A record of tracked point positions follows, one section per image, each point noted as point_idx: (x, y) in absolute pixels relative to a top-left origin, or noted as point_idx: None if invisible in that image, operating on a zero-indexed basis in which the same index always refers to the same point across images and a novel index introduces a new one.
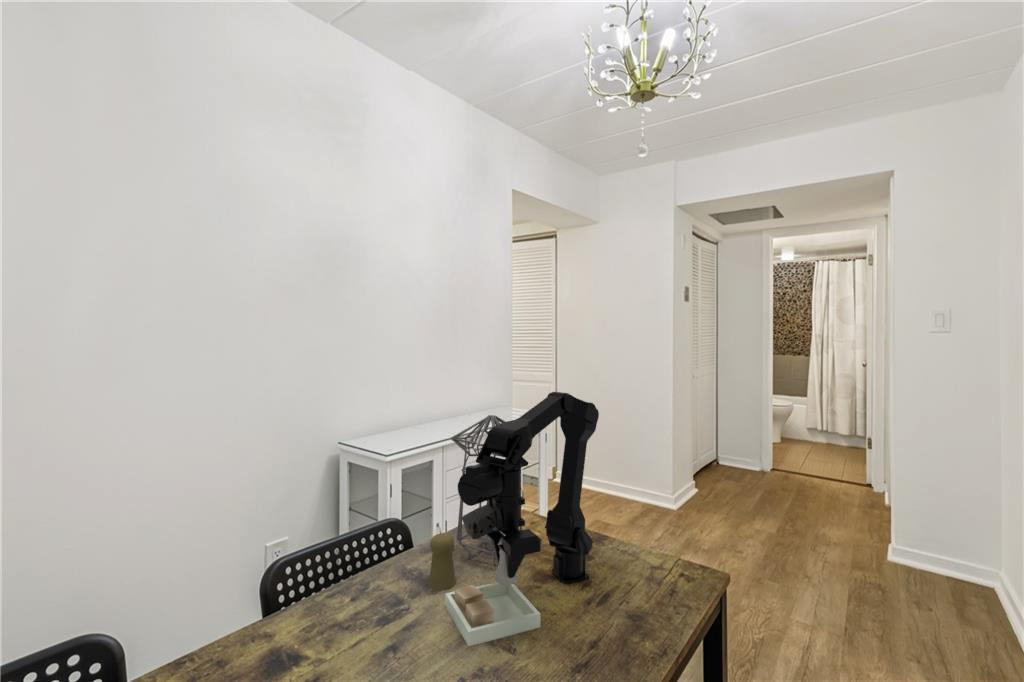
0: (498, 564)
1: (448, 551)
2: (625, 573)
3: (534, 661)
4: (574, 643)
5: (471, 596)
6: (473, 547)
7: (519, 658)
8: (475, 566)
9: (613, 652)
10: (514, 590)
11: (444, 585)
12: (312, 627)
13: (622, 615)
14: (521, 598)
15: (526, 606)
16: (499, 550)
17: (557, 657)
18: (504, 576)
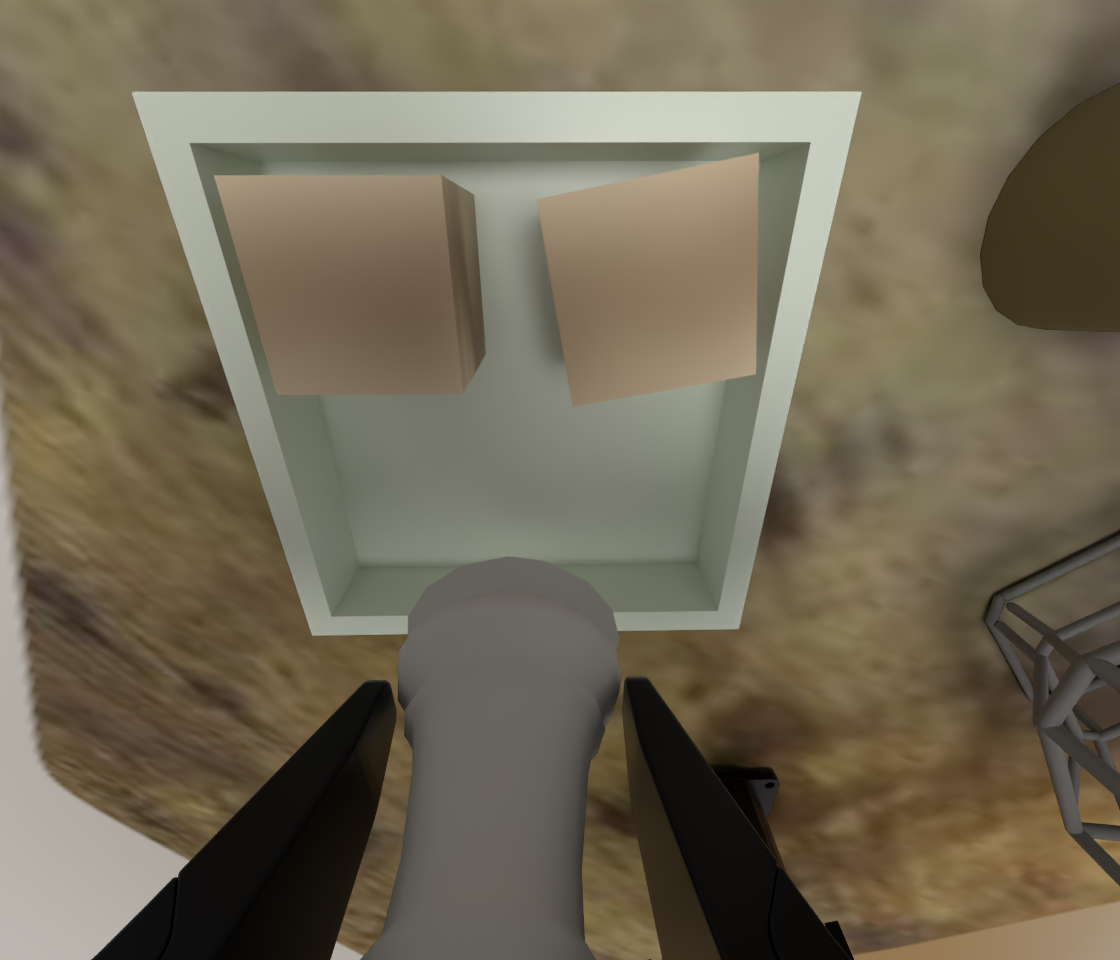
0: (640, 695)
1: None
2: (616, 910)
3: (101, 460)
4: (230, 647)
5: (560, 289)
6: None
7: (128, 403)
8: (1110, 516)
9: (159, 724)
10: (612, 609)
11: (1053, 198)
12: None
13: (377, 820)
14: None
15: None
16: (681, 901)
17: (132, 558)
18: (404, 657)
